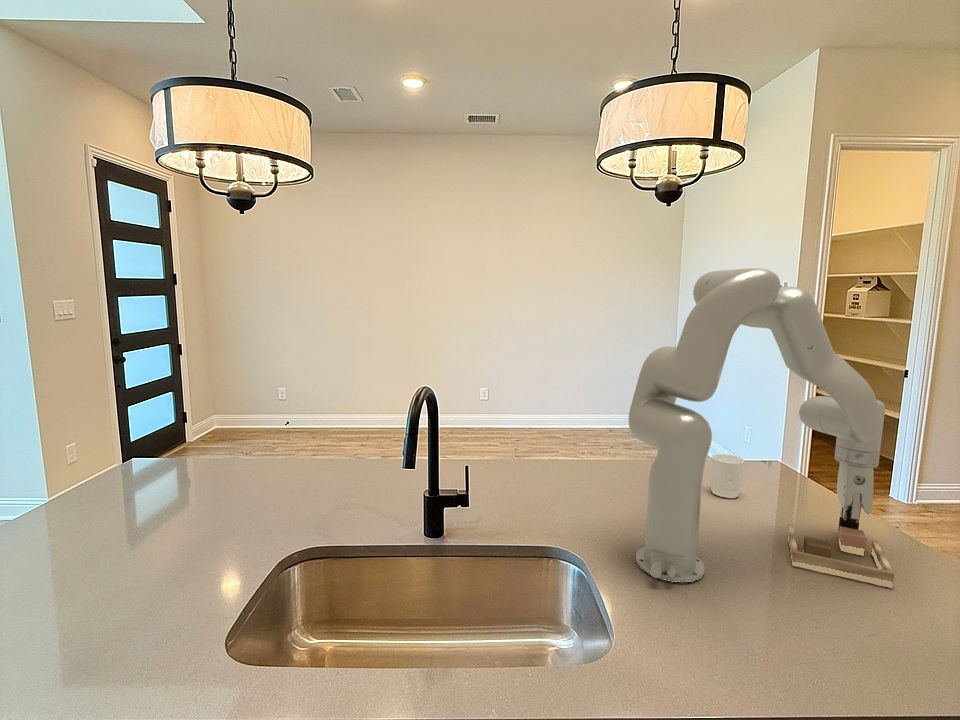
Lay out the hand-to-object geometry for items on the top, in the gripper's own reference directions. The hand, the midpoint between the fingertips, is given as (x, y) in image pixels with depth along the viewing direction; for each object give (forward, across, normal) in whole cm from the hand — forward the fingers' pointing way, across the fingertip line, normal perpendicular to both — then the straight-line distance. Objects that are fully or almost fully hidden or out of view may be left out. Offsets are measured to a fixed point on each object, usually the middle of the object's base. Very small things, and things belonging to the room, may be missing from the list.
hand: (847, 536), depth 109 cm
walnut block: (+1, -13, +7) cm, 15 cm away
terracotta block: (+1, -4, 0) cm, 4 cm away
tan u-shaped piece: (+1, -11, +4) cm, 12 cm away
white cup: (+1, +16, +24) cm, 29 cm away
